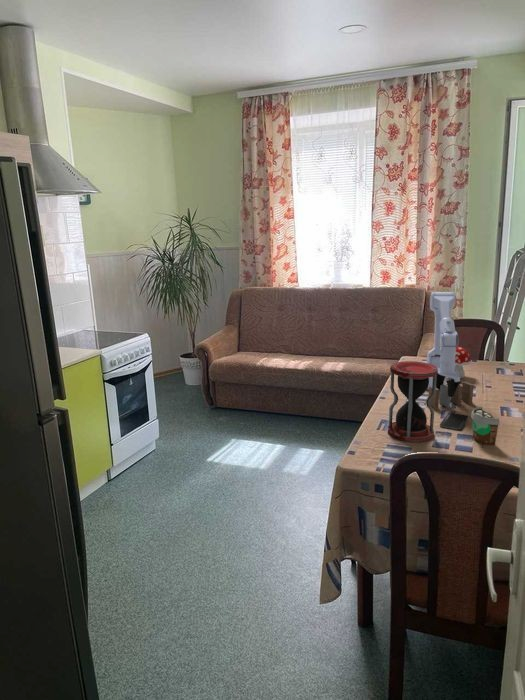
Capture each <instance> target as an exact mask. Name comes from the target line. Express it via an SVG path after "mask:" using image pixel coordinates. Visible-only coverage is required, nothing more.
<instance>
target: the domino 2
mask: <svg viewBox="0 0 525 700" xmlns="http://www.w3.org/2000/svg"><path fill="white" fill-rule="evenodd" d="M450 400H451V397H449V396H448V385H447V384H446V385H440V392H439V404H440V405H442V406H444V407H445V408H447V407H448V406H449V407H451V402H450Z"/></svg>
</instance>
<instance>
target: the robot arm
mask: <svg viewBox="0 0 525 700" xmlns="http://www.w3.org/2000/svg"><path fill="white" fill-rule="evenodd" d="M455 304H456V294H455V292H454V291H432V292H431V293H430V296H429V309H430V311H432V312H433V314H434V338H433V339H434V341H433V348H432V349H431V350H429V351H428V352H427V355H426V363H429V364H432V365H434V366H436V367H437V368H438V374H437V377H436V388H437V389H439V393H440V385H446V386H448V396H449V397H450V398H451V397H453V396H454V394H455V391H456V389H457V387H458V386H459V385H461V382H462V381H461V378H460V377H459V376H458V375H457V374H456V372H455V371H454V367H455V354H456V347H459V335H458V332H457V331H456V328H455V321H454V319H452V317H451V316H452V314H451V311H452V309H453V308H454V306H455ZM432 385H433V377H429V385H428V388H427V391H429V386H432Z"/></svg>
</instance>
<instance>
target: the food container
mask: <svg viewBox="0 0 525 700" xmlns="http://www.w3.org/2000/svg"><path fill="white" fill-rule="evenodd" d="M470 417H471V419H472V438H473V440H474V442H476V443H479V444H482V445H487V446H489V445H490V446H495V445H496V440H497V435H498V429H499V426H500V418H498V417H496V418H495V417H494V416H493V415H492V414H491V413H489V412H487V411H485V410H484V409H483V406H479V407H474V408H473V410H472V411H471V413H470Z"/></svg>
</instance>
